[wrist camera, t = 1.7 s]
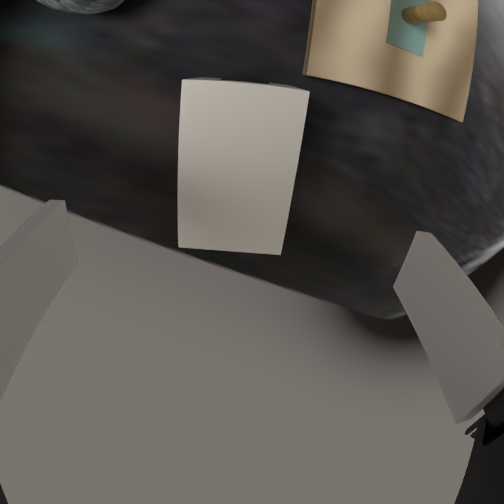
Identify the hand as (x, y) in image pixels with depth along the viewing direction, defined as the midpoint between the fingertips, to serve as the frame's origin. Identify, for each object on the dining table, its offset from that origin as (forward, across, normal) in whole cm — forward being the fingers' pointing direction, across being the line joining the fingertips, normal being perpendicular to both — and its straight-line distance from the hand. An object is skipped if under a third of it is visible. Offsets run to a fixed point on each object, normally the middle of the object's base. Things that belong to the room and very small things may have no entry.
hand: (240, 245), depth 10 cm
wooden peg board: (+14, +11, +16) cm, 24 cm away
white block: (+14, 0, 0) cm, 14 cm away
